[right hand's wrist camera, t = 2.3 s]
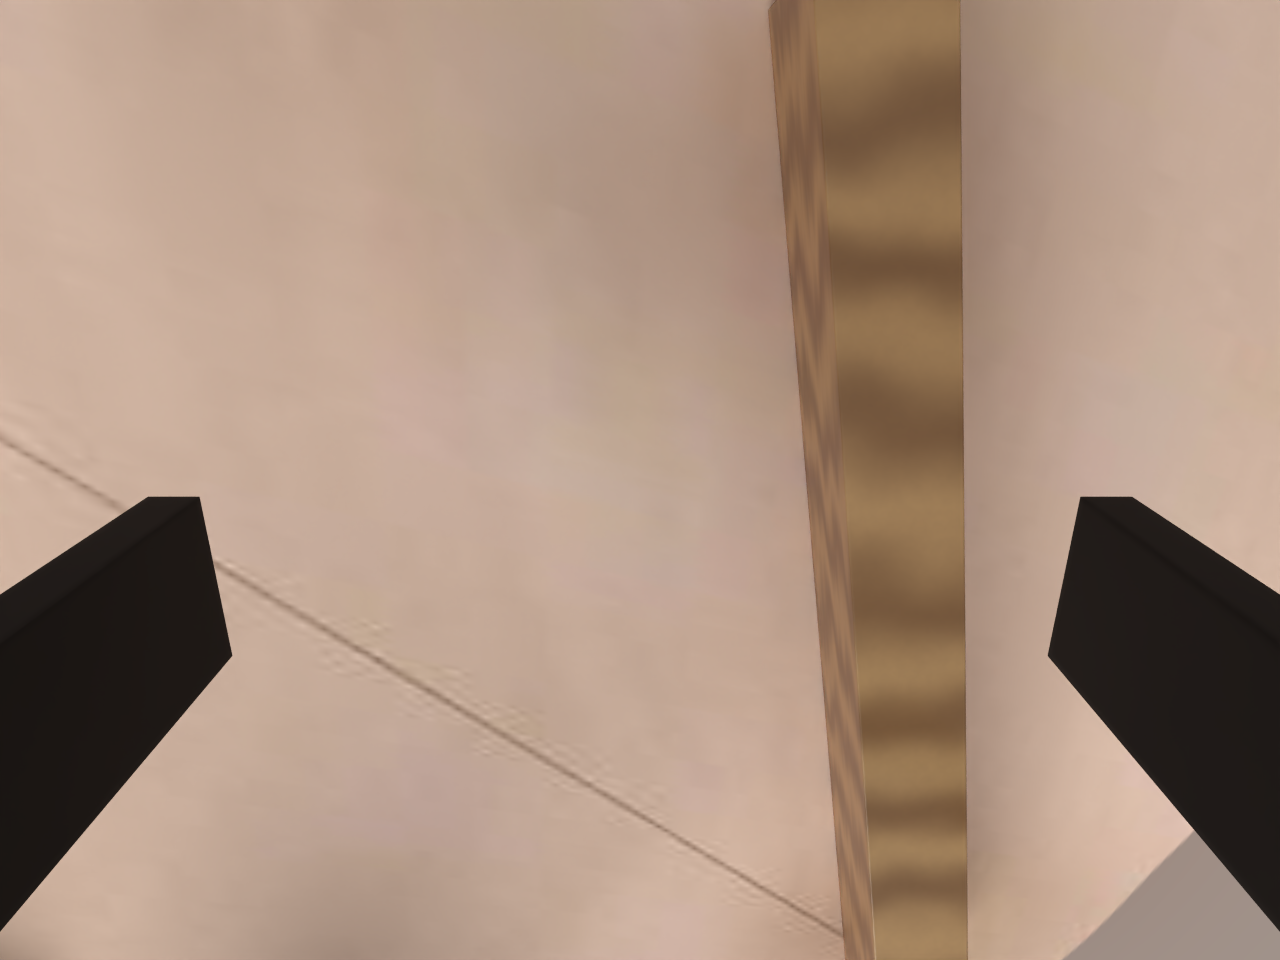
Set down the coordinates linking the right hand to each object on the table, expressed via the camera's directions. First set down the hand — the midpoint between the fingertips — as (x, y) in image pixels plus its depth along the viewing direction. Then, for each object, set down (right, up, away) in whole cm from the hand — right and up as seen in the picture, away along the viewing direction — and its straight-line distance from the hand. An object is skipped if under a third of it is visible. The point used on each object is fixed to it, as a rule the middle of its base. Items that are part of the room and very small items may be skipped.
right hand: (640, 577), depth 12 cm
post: (+11, -4, +30) cm, 32 cm away
